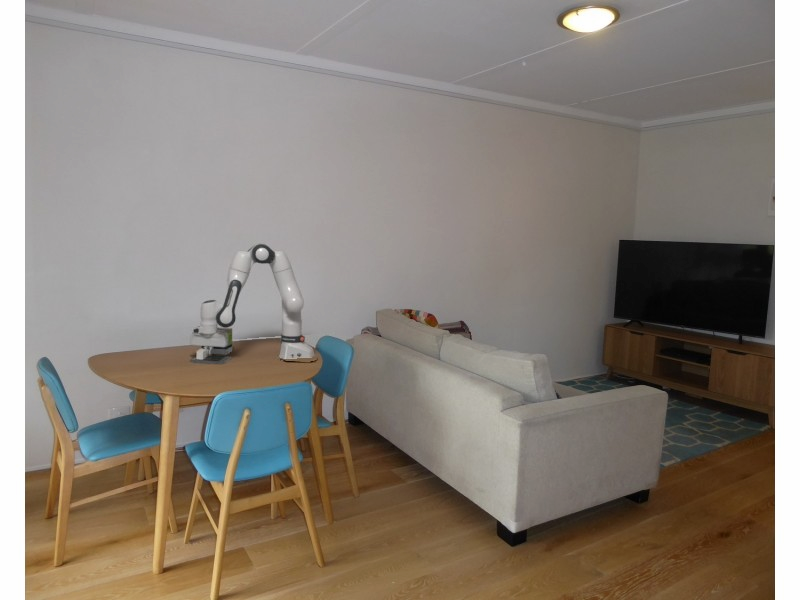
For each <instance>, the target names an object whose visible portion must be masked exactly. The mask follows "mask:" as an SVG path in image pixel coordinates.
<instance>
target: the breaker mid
mask: <svg viewBox="0 0 800 600" xmlns="http://www.w3.org/2000/svg"><path fill="white" fill-rule="evenodd" d="M198 350H205V348H202V347H200V348H199V349H198ZM206 357H208V354H207V351H206V350H205V358H206Z"/></svg>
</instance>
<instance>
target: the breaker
mask: <svg viewBox="0 0 800 600" xmlns="http://www.w3.org/2000/svg"><path fill="white" fill-rule="evenodd" d="M196 356H197V359H201V360H203V359H205V350H199V349H198V350H196Z"/></svg>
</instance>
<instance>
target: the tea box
mask: <svg viewBox="0 0 800 600" xmlns="http://www.w3.org/2000/svg"><path fill="white" fill-rule="evenodd" d="M217 330H225V331H226V332H227V334H228V336H227V341H228V345H227V346H226V347H213V349H212V351H211V355H221V356H228V355H229V354H231V353H232V352H233V328H232V327H227V328H225V327H221V326H217ZM204 347H205V346H200V348H204ZM208 347H209V346H208ZM230 352H231V353H230Z"/></svg>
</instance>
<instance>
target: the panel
mask: <svg viewBox="0 0 800 600" xmlns="http://www.w3.org/2000/svg"><path fill="white" fill-rule="evenodd" d="M228 360H229V361H230V360H232V356H231V355H218V354H211V355H210V356H208V357H206V358H205V359H203V360H201V359H197V355H196V356H195V357H192V358H191V359H189V363H190V362H193V364H205V363H206V365H207V364H208V365H209V364H211V365H221V364H223V365H224V364H226V363H227V362H229V361H228ZM225 362H226V363H225Z"/></svg>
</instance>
